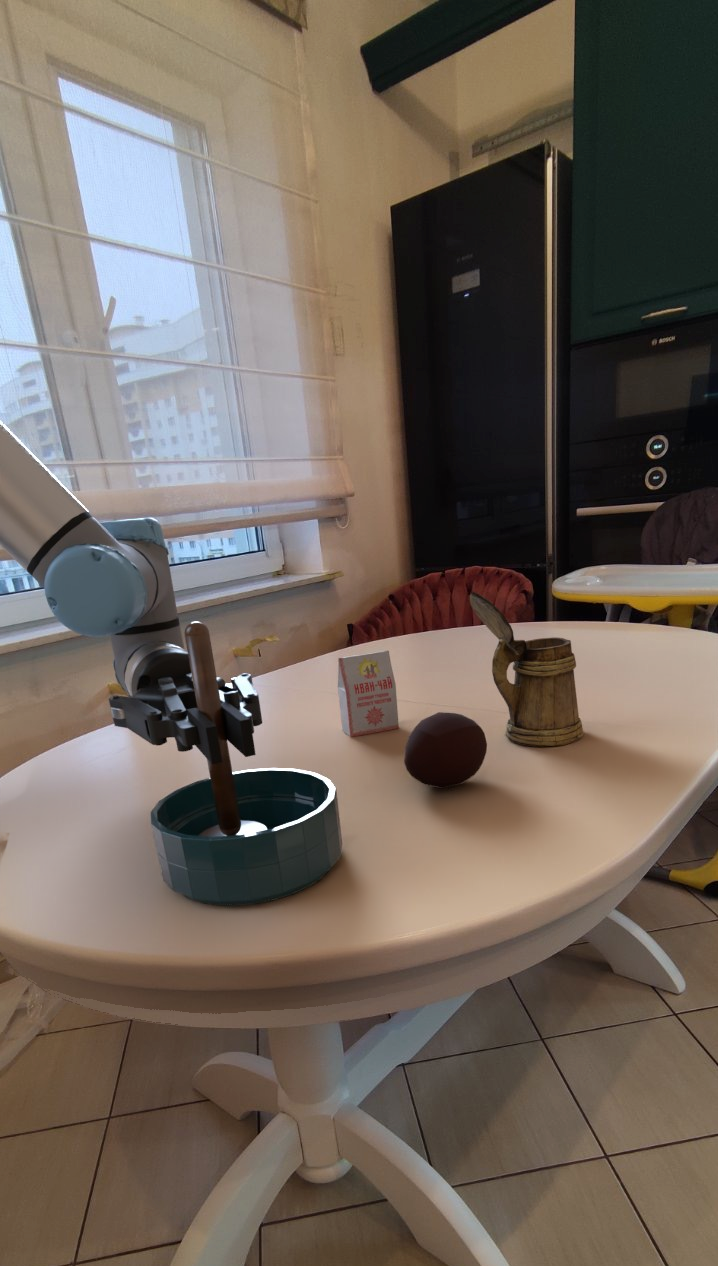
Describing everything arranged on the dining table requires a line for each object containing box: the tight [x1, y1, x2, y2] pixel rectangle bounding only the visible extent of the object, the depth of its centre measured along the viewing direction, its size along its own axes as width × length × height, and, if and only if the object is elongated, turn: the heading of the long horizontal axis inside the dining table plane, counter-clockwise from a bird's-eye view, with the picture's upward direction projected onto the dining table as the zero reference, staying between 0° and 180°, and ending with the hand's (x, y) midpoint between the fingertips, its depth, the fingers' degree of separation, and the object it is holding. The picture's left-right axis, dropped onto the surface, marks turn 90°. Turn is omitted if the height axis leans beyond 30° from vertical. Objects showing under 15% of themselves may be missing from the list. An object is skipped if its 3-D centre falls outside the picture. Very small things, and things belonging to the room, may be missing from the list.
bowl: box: [149, 767, 343, 906], centre depth 61 cm, size 15×15×6 cm
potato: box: [403, 711, 488, 789], centre depth 74 cm, size 8×9×8 cm
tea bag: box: [337, 650, 400, 738], centre depth 95 cm, size 4×7×10 cm, turn 108°
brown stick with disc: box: [184, 621, 268, 837], centre depth 57 cm, size 6×6×20 cm
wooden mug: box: [469, 590, 584, 748], centre depth 83 cm, size 9×14×18 cm, turn 106°
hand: (231, 741), depth 52 cm, fingers closed on brown stick with disc, 2 cm apart
